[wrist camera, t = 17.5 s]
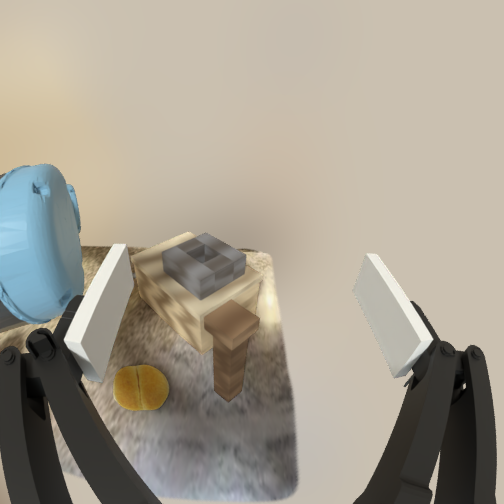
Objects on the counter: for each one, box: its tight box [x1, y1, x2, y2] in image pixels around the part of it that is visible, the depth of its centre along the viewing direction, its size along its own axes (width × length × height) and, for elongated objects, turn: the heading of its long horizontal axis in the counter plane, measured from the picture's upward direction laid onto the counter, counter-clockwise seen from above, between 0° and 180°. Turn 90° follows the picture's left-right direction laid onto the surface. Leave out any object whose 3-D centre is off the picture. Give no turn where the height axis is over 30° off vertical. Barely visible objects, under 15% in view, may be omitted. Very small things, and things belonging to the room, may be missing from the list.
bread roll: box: [113, 365, 169, 411], centre depth 36 cm, size 8×9×4 cm
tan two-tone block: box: [130, 232, 263, 355], centre depth 51 cm, size 21×15×14 cm
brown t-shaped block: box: [204, 299, 260, 402], centre depth 35 cm, size 4×4×17 cm
